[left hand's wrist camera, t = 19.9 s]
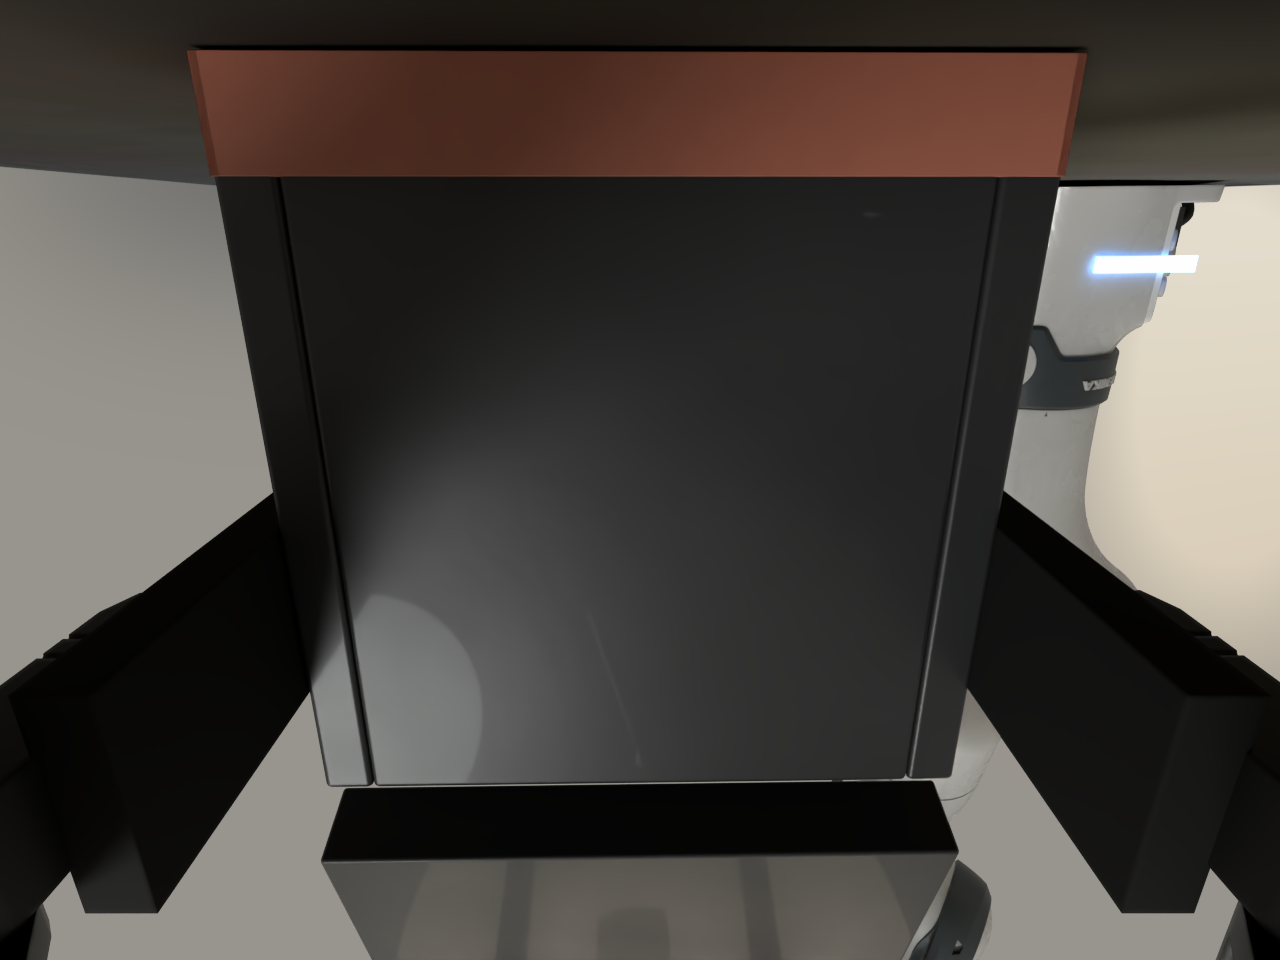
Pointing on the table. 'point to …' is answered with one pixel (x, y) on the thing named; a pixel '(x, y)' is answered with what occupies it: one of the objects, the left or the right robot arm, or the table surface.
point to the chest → (637, 394)
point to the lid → (640, 870)
